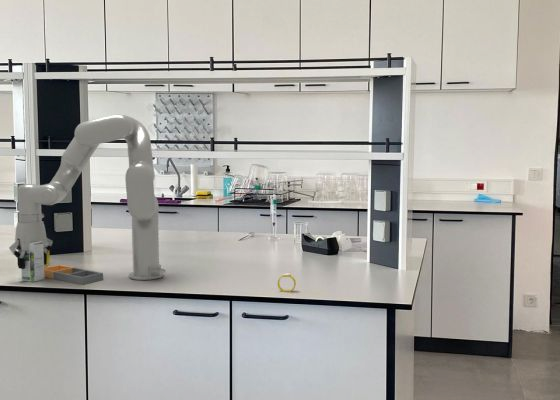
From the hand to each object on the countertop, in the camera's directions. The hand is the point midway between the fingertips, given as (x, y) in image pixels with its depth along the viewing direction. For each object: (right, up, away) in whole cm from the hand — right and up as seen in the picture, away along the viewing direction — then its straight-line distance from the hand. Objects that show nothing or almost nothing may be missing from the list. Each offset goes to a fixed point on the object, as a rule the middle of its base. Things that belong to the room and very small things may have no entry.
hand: (32, 266), depth 224 cm
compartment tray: (+12, -5, +4) cm, 14 cm away
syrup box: (0, -5, +1) cm, 5 cm away
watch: (+92, -7, -17) cm, 94 cm away
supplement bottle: (-4, -3, +19) cm, 20 cm away
